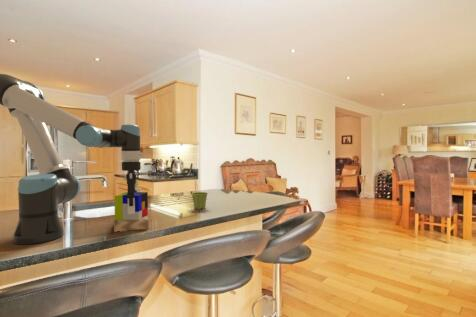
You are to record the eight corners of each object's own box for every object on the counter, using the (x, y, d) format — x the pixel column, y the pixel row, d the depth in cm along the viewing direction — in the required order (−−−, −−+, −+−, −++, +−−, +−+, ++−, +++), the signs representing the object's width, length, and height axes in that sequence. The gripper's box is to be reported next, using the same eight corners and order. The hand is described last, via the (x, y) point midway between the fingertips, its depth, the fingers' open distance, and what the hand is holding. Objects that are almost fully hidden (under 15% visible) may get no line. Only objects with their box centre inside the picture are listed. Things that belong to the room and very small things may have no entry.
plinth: (114, 232, 108) (113, 222, 108) (116, 224, 121) (116, 215, 121) (148, 228, 113) (148, 219, 113) (147, 221, 125) (147, 212, 125)
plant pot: (188, 209, 152) (188, 194, 152) (196, 206, 161) (196, 191, 161) (203, 210, 149) (203, 194, 149) (210, 207, 158) (210, 192, 158)
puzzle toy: (138, 219, 112) (138, 195, 111) (114, 219, 112) (114, 195, 112) (147, 214, 122) (147, 192, 121) (125, 214, 122) (125, 192, 122)
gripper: (140, 161, 106) (141, 216, 106) (140, 160, 129) (141, 205, 130) (119, 161, 103) (120, 217, 104) (123, 160, 127) (124, 206, 127)
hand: (131, 210), depth 117 cm, fingers open, 13 cm apart
